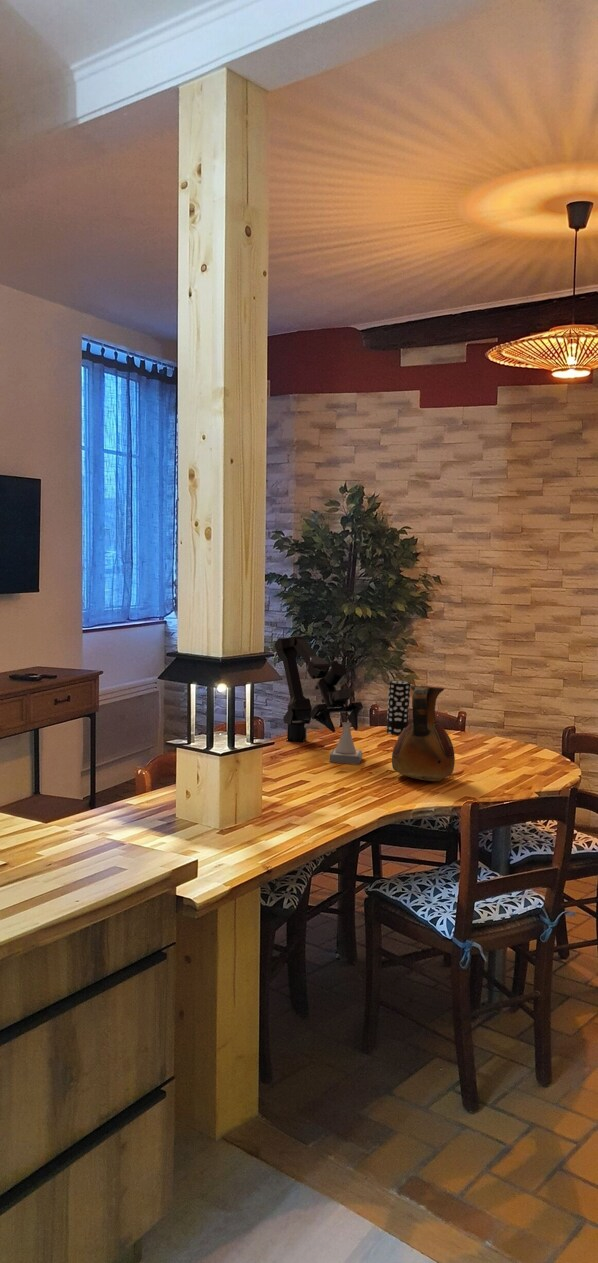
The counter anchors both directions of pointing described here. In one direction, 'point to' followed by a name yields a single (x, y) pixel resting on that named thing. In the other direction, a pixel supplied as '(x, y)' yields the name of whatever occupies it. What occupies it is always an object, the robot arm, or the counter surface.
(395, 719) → the white-spotted black cylinder
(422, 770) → the ceramic pitcher
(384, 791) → the counter surface
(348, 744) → the flask
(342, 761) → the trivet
